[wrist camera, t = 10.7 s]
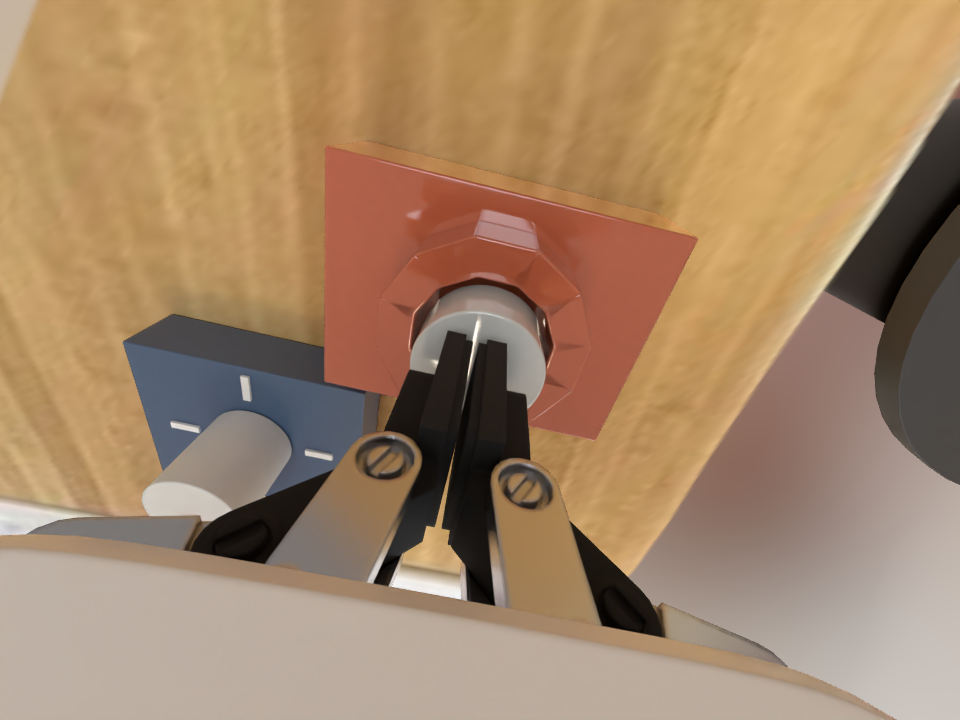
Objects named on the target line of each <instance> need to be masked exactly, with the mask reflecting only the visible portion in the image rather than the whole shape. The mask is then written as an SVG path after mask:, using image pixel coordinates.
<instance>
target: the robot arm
mask: <svg viewBox="0 0 960 720" xmlns="http://www.w3.org/2000/svg"><path fill="white" fill-rule="evenodd" d="M466 336H467V334H462V333H458V332H453V331H449V330H448V331H447V334H446V338H445V341H444V344H443V348H442V351H441V354H440V358H439V361H438V364H437V368H436V371H435V375H434V374H430V373H425V372H421V371H416V370H411V369H410V370H409V371H408V373H407V376H406V378H405V381H404V383H403V385H402V388H401V390H400V393H399V395H398V398H397V400H396V403H395V405H394V407H393V410H392V412H391V415H390V417H389V420H388V422H387V425H386V427H385V429H384V431H378V432H373V433H369V434H367V435H365V436H363V437H361V438H359V439H358V440H357V441H356V442H355V443H354V444H353V445H352V446H351V447H350V448H349V450H348V451H347V452H346V454H345V455H344V457H343V458H342V459H341V461H340V462H339V463H338V465H337V466H336V467H335V469H333V470H331V471H328V472H326V473H323V474H321V475H318V476H316V477H313V478H311V479H308V480H306V481H303V482H301V483H298V484H296V485H293V486H291V487H289V488H286V489H284V490H281V491H279V492H276V493H274V494H271V495H269V496H266V497H264V498H261V499H259V500H256V501H254V502H251V503H249V504H246V505H244V506H241V507H239V508H237V509H234V510H232V511H229V512H228V513H226V514H224V515H222V516H220V517H218V518H216V519H215V520H214V521H202V520H201V516H200V515H192V516H137V517H81V518H71V519H64V520H58V521H55V522H52V523H50V524H47V525H44V526H41V527H38V528H36V529H34V530H33V531H31V532H29V533H27V534H26V535H1V536H0V720H896V719H894V718H893V717H891V716H889V715H887V714H886V713H884V712H882V711H880V710H879V709H877V708H875V707H873V706H872V705H870V704H868V703H866V702H864V701H863V700H861V699H860V698H858V697H856V696H854V695H852V694H850V693H848V692H846V691H844V690H842V689H839V688H837V687H835V686H833V685H831V684H828V683H826V682H824V681H822V680H819V679H817V678H815V677H812V676H810V675H808V674H804V673H802V672H799V671H796V670H793V669H790V668H788V666H787V665H786V664H785V663H784V662H783V661H781V660H780V659H779V658H778V657H777V656H776V655H775V654H774V653H773V652H771V651H770V650H768V649H766V648H765V647H763V646H761V645H760V644H758V643H756V642H753V641H751V640H749V639H746V638H744V637H741V636H739V635H737V634H734V633H732V632H730V631H727V630H725V629H723V628H720V627H718V626H716V625H713V624H711V623H709V622H706V621H704V620H702V619H699V618H697V617H694V616H692V615H690V614H687V613H685V612H683V611H680V610H678V609H676V608H674V607H671V606H668V605H666V604H664V603H661V604H660V605H659V606H658V607H656V606H654V605H652V604H651V602H650V600H649V599H648V598H647V597H646V596H645V594H644V593H643V592H642V591H641V590H640V589H639V588H638V587H637V586H636V585H635V584H634V583H633V582H632V581H631V580H630V579H629V578H628V577H627V576H626V575H625V574H624V573H623V572H622V571H621V570H620V569H619V568H618V567H617V566H616V565H615V564H614V563H613V562H612V561H611V560H610V559H609V558H608V557H606V556H605V555H604V554H603V553H602V552H601V551H600V550H599V549H598V548H597V547H596V546H595V545H594V544H593V543H592V542H591V541H590V540H589V539H588V538H587V537H586V536H585V535H584V534H583V533H582V532H581V531H580V530H579V529H578V528H577V527H576V526H575V525H573V524H572V523H571V522H570V521H569V517H568V514H567V511H566V508H565V504H564V501H563V498H562V495H561V491H560V488H559V486H558V484H557V482H556V480H555V478H554V477H553V476H552V475H551V474H550V472H549V471H548V470H546V469H545V468H544V467H542V466H541V465H539V464H537V463H535V462H533V461H531V459H530V443H529V428H528V412H527V398H526V395H525V394H522V393H518V392H513V391H508V390H507V343H502V342H498V341H494V340H489V339H488V340H487V343H486V344H484V343H479V345H478V349H477V353H476V357H475V361H474V365H473V369H472V373H471V377H470V381H469V385H468V389H467V393H466V397H465V401H464V395H465V389H466V383H467V377H468V371H469V365H470V359H471V352H472V346H473V341H470V340H466ZM463 401H464V406H463ZM462 407H463V410H462ZM461 413H462V414H461ZM455 444H456V445H455ZM454 448H455V451H454ZM453 452H454V457H453V463H452V469H451V475H450V481H449V487H448V493H447V499H446V505H445V511H444V517H443V523H442V529H447V530H450V533H449V540H448V545H451V547H452V549H453V550H454V551H455V553H456V554H457V555H458V557H459V558H460V559H461V560H462V563H461V570H460V577H461V600H460V599H454V598H449V597H443V596H438V595H432V594H427V593H421V592H416V591H410V590H405V589H399V588H394V587H392V585H393V582H394V580H395V578H396V575H397V573H398V570H399V568H400V565H401V563H402V560H403V556H404V552H406V551H408V550H409V549H411V548H413V547H414V546H416V545H417V544H419V543H421V542H422V541H423V537H424V533H425V529H426V526H431V527H435V524H436V520H437V516H438V512H439V508H440V504H441V500H442V496H443V492H444V488H445V484H446V480H447V476H448V472H449V468H450V464H451V460H452V456H453Z"/></svg>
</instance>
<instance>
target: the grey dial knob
mask: <svg viewBox="0 0 960 720" xmlns="http://www.w3.org/2000/svg"><path fill="white" fill-rule="evenodd" d="M291 452H292V448H291V443H290V440H289V438H288V437H287V435H286V434H285V432H284V431H283V430H282V429H281V428H280V427H279V426H278V425H277V424H275V423H274V422H273V421H271V420H270V419H268V418H266V417H264V416H262V415H259V414H257V413H254V412H249V411H243V410H234V411H229V412H226V413H223V414H221V415H220V416H219V417H217V418H216V419H215V420H214V421H213V422H212V423H211V424H210V425H209V426H208V427H207V428H206V429H205V430H204V431H203V432H202V433H201V434H200V435H199V436H198V437H197V438H196V439H195V440H194V441H193V442H192V443H191V444H190V445H189V446H188V447H187V448H186V449H185V450H184V451H183V452H182V453H181V454H180V455H179V456H178V457H177V458H176V459H175V460H174V461H173V462H172V463H171V464H170V465H169V466H168V467H167V468H166V469H165V470H164V471H163V472H162V473H161V474H160V475H159V476H158V477H157V478H156V479H155V480H154V481H153V482H152V483H151V484H150V485H149V486H148V487H147V488H146V489H145V490H144V492H143V495H142V504H143V507H144V509H145V511H146V512H147V513H148V515H149V516H192V515H200V516H201V520H202V521H214V520H215V519H216V518H218V517H220V516H222V515H224V514H226V513H228V512H229V511H232V510H234V509H237V508H239V507H241V506H244V505H246V504H249V503H251V502H254V501H256V500H259V499H261V498H264V496H265V495H266V493H267V492H268V490H269V489H270V487H271V486H272V484H273V483H274V481H275V480H276V478H277V477H278V475H279V474H280V472H281V471H282V469H283V468H284V466H285V465H286V463H287V462H288V460H289V459H290V457H291Z"/></svg>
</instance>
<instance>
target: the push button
mask: <svg viewBox="0 0 960 720" xmlns="http://www.w3.org/2000/svg"><path fill="white" fill-rule="evenodd" d="M448 330H449V331H453V332H458V333H462V334H467V336H466V340H470V341H473V346H472V352H471V359H470V365H469V371H468V377H467V383H466V389H465V395H464V401H465V397H466V393H467V389H468V385H469V381H470V377H471V373H472V369H473V365H474V361H475V357H476V353H477V349H478V345H479V343H484V344H486V343H487V340H488V339H489V340H494V341H498V342H502V343H507V390H508V391H513V392H518V393H522V394H525V395H526V398H527V409H528V408H529V407H530V406H531V405H532V404H533V403H534V402H535V401H536V399H537V398H538V396H539V394H540V393H541V390H542V388H543V386H544V382H545V377H546V362H545V354H544V347H543V339H542V332H541V327H540V324H539V322H538V319H537V317H536V315H535V314H534V312H533V311H532V309H531V308H530V307H529V306H528V305H527V304H526V303H525V302H524V301H523V300H522V299H521V298H519V297H518V296H516V295H515V294H513V293H511V292H509V291H507V290H505V289H502V288H499V287H495V286H489V285H470V286H465V287H461V288H458V289H456V290H453V291H451V292H449V293H447V294H446V295H445V296H443V297H442V298H440V299H439V300H438V301H437V302H436V303H435V304H434V305H433V307H432V308H431V309H430V311H429V313H428V314H427V316H426V319H425V321H424V323H423V325H422V327H421V330H420V332H419V334H418V336H417V338H416V341H415V343H414V345H413V348H412V351H411V355H410V369H411V370H416V371H421V372H425V373H430V374H434V375H435V371H436V368H437V364H438V361H439V358H440V354H441V351H442V348H443V344H444V341H445V338H446V334H447V331H448ZM464 401H463V406H464ZM462 410H463V407H462ZM461 414H462V413H461Z"/></svg>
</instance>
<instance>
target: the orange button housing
mask: <svg viewBox="0 0 960 720" xmlns="http://www.w3.org/2000/svg"><path fill="white" fill-rule="evenodd" d="M697 241H698V238H697V237H695V236H694V235H692V234H691V233H689V232H687V231H686V230H684V229H682V228H681V227H679V226H678V225H676V224H674V223H673V222H671V221H670V220H668V219H666V218H665V217H663V216H661V215H660V214H658V213H654V212H650V211H646V210H642V209H638V208H634V207H630V206H626V205H622V204H618V203H614V202H610V201H606V200H602V199H598V198H594V197H590V196H586V195H582V194H578V193H574V192H570V191H566V190H562V189H558V188H554V187H550V186H546V185H542V184H538V183H534V182H530V181H526V180H522V179H518V178H514V177H510V176H506V175H502V174H498V173H494V172H490V171H486V170H482V169H478V168H474V167H470V166H466V165H462V164H458V163H454V162H450V161H446V160H442V159H438V158H434V157H430V156H426V155H422V154H418V153H414V152H410V151H406V150H402V149H398V148H394V147H390V146H386V145H382V144H378V143H374V142H370V141H365V142H356V143H347V144H339V145H330V146H326V148H325V336H324V381H325V382H328V383H333V384H337V385H342V386H347V387H351V388H356V389H360V390H365V391H369V392H374V393H379V394H383V395H388V396H392V397H397V398H398V395H399V393H400V390H401V388H402V385H403V383H404V381H405V378H406V376H407V373H408V371H409V370H410V355H411V351H412V348H413V345H414V343H415V341H416V338H417V336H418V334H419V332H420V330H421V327H422V325H423V323H424V321H425V319H426V316H427V314H428V313H429V311H430V309H431V308H432V307H433V305H434V304H435V303H436V302H437V301H438V300H439V299H440V298H442V297H443V296H445V295H446V294H447V293H449V292H451V291H453V290H456V289H458V288H461V287H465V286H470V285H489V286H495V287H499V288H502V289H505V290H507V291H509V292H511V293H513V294H515V295H516V296H518V297H519V298H521V299H522V300H523V301H524V302H525V303H526V304H527V305H528V306H529V307H530V308H531V309H532V311H533V312H534V314H535V315H536V317H537V319H538V322H539V324H540V327H541V332H542V339H543V347H544V354H545V362H546V377H545V382H544V386H543V388H542V390H541V393H540V394H539V396H538V398H537V399H536V401H535V402H534V403H533V404H532V405H531V406H530V407H529V408H528V409H527V412H528V426H529V427H534V428H539V429H543V430H548V431H552V432H557V433H561V434H566V435H571V436H575V437H580V438H584V439H589V440H594V441H595V440H596V439H597V437H598V435H599V433H600V431H601V429H602V427H603V425H604V423H605V421H606V419H607V417H608V415H609V413H610V411H611V409H612V407H613V405H614V403H615V401H616V399H617V397H618V395H619V393H620V391H621V390H622V388H623V386H624V384H625V382H626V380H627V378H628V376H629V374H630V372H631V370H632V368H633V366H634V364H635V362H636V360H637V358H638V356H639V354H640V352H641V350H642V348H643V346H644V344H645V342H646V341H647V339H648V337H649V335H650V333H651V331H652V329H653V327H654V325H655V323H656V321H657V319H658V317H659V315H660V313H661V311H662V309H663V307H664V305H665V303H666V301H667V299H668V297H669V295H670V293H671V292H672V290H673V288H674V286H675V284H676V282H677V280H678V278H679V276H680V274H681V272H682V270H683V268H684V266H685V264H686V262H687V260H688V258H689V256H690V254H691V252H692V250H693V248H694V246H695V244H696V243H697Z"/></svg>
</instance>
